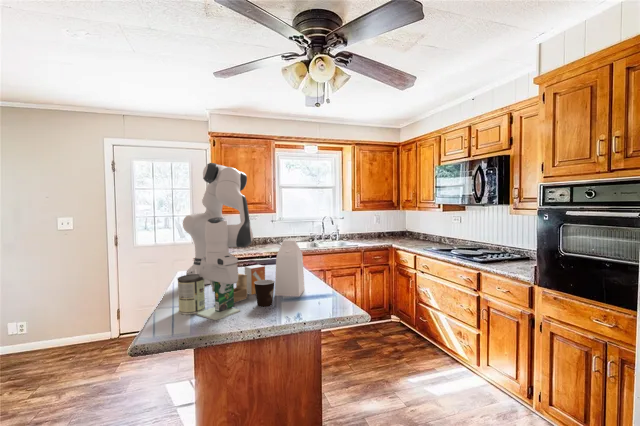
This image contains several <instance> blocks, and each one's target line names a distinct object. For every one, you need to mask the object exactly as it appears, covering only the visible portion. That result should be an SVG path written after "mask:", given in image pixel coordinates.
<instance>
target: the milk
mask: <svg viewBox="0 0 640 426" xmlns="http://www.w3.org/2000/svg"><path fill="white" fill-rule="evenodd" d="M274 279H275V280H274V296H279V297H280V296H283V297H301V295H302V294H303V292H304V291H305V290H306V289H305V273H304V257H303V252H302V250H301V249H300V246H299V245H298V243H297V240H296V239H283V240H282V242H281V244H280V247H279V250H278V252H277V253H276V258H275V278H274Z"/></svg>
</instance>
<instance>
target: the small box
mask: <svg viewBox="0 0 640 426" xmlns="http://www.w3.org/2000/svg"><path fill="white" fill-rule="evenodd" d="M244 275H247V295H251V296H253V295H256V291H255V284H254V282H255V281H258V280H266V266H265V265H261V264H254V265H248V266H244Z"/></svg>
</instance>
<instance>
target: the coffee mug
mask: <svg viewBox="0 0 640 426" xmlns="http://www.w3.org/2000/svg"><path fill="white" fill-rule="evenodd" d="M254 284H255V291H256V294H255V296H256V297H255V299H256V304H257V305H256V306H257V307H259V308H269V307H271V306H273V302H274V301H273V299H274V293H275V280H273V279H265V280H258V281H255V282H254Z"/></svg>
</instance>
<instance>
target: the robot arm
mask: <svg viewBox="0 0 640 426" xmlns="http://www.w3.org/2000/svg"><path fill="white" fill-rule="evenodd" d="M202 179H203V180H204V182H205V183H207V186H206V189H205V192H204V194H203V196H202V199H201V203H202V205H203V207H204V208H205V211H204V212H201V213H200V212H199V213H192V214H188V215H186V216H185V217H184V218H183V220H182V227H183V230H184V231H185V232H186V233H188V234H189V236H190V237H191V238H192V240H193V245H194V252H195V253H194V255H195V256H194V257H193V258H192V260H193V264H192V265H191V266H190V267H189V268H188V269H187V270H186V274H185V275H191V274H199V276H200V277H203V279H204V286H205V285H210V286H211V291H212V292H214V293H215V284H214V281H215V282H220V285H221V287H220V289H219V293H224V292H225V287H226V285H227V284H236V283H237V281H238V273H239V269H238V265H237V263H238V260H239V259H238V257H236V256H234V255H233V254H231V253H230V252H229V248H245V249H246V248H247V247H249V245H252V243H253V241H254V240H253V238H254V233H253V230H252V226H251V221H250V213H249V206H248V200H247V197H246V196H245V195H244V194H243V193H242V191H243V190H244V189H245V188H246V186H247V184H248V183H247V182H248V177H247V174H246V173H245V172H243V171H239V170H238V169H236V168H234V167H232V166H227V165H226V166H225V165H222V164H217V163H215V162H214V163H213V162H209V163H207V164H206V165H205V166H204V168H203V171H202ZM223 206H226V207H229V208H232V209H235V210H237V211H238V212H239V219H240V223H237V224H228V223H227V219H226V218H225V217H224V215H223Z"/></svg>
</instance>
